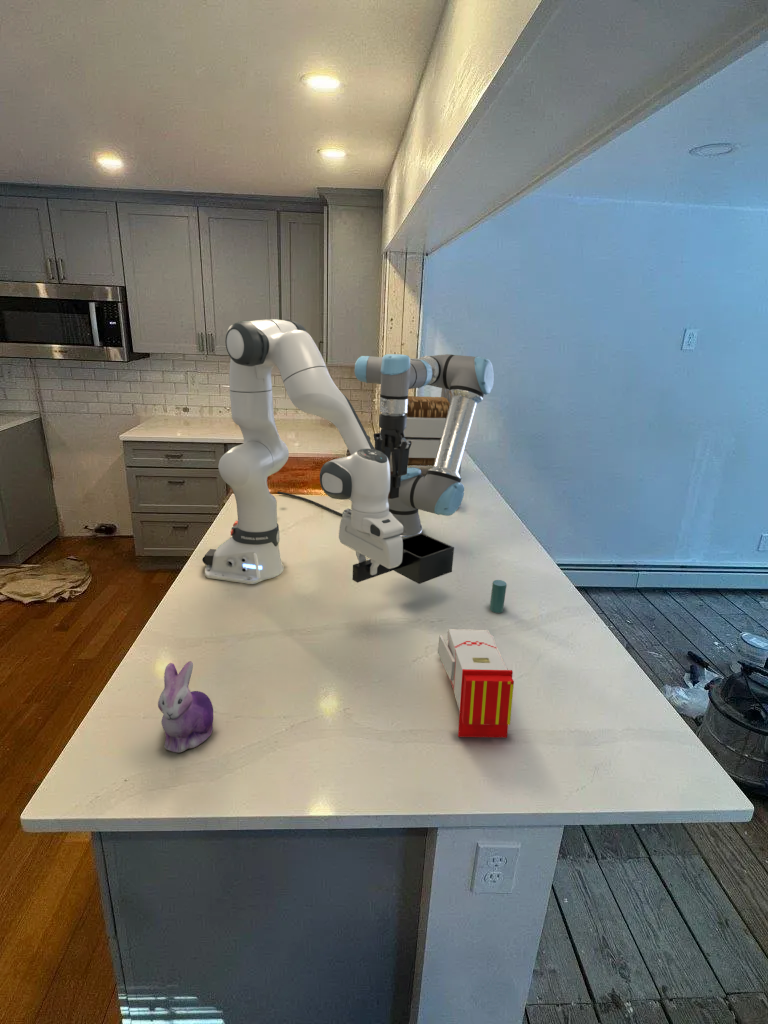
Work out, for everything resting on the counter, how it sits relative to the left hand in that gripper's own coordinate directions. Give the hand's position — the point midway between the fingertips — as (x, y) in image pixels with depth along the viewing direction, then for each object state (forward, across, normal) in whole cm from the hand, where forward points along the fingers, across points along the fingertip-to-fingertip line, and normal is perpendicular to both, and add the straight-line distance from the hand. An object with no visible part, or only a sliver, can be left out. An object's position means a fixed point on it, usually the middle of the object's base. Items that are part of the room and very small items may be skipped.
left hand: (367, 571), depth 139 cm
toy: (+14, +35, 0) cm, 38 cm away
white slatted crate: (+14, -92, +108) cm, 142 cm away
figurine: (+14, +12, -51) cm, 54 cm away
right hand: (-10, -18, +22) cm, 30 cm away
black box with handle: (+5, 0, +10) cm, 11 cm away
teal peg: (+14, +16, +32) cm, 38 cm away
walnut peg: (-10, -18, +22) cm, 30 cm away
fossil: (+14, -137, +105) cm, 173 cm away
